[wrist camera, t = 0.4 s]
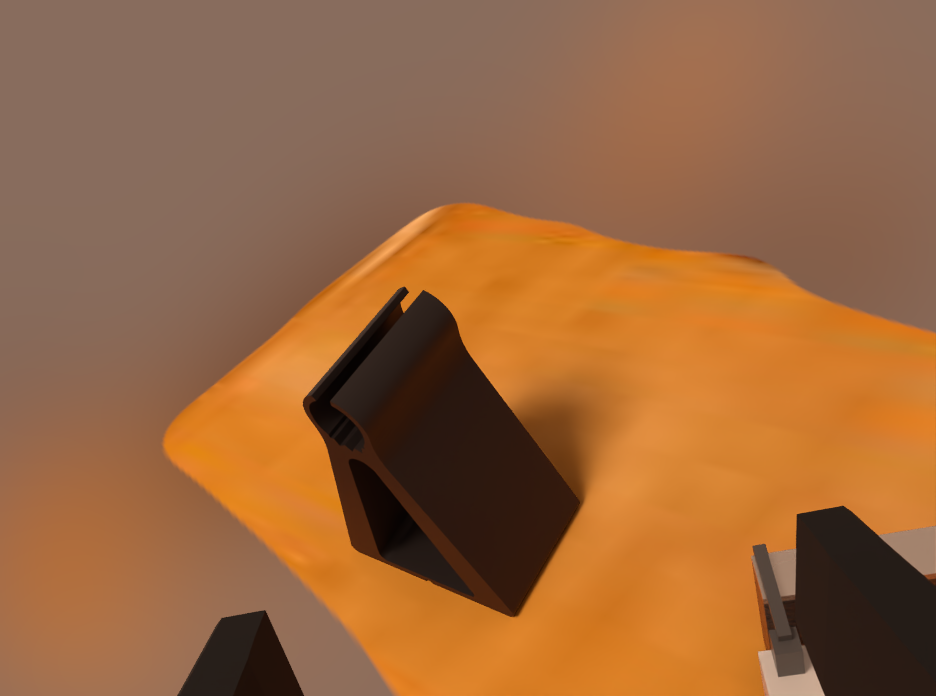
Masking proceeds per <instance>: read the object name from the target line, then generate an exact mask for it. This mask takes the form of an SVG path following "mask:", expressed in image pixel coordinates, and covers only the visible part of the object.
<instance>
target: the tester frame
mask: <svg viewBox="0 0 936 696" xmlns="http://www.w3.org/2000/svg"><path fill="white" fill-rule="evenodd" d="M878 536H879V537H880V538H881V539H883V540H884V541H885V542H886V543H887V544H888V545H889V546H890V547H892V548H893V549H894V550H895V551H896V552H897V553H898V554H900V555H901V556H902V557H903V558H904V559H905V560H906V561H908V562H909V563H910V564H911V565H912V566H913V567H915V568H916V569H917V570H918V571H919V572H920V573H922V574H923V575H924V576H925V577H926V578H927V579H928V580H930V581H931V582H932V583H933V584H934V585H936V526H932V527H926V528H920V529H914V530H908V531H901V532H895V533H889V534H883V535H878ZM768 555H769V558H770V562H771V565H772V569H773V572H774V575H775V579H776V582H777V586H778V589H779V592H780V596H781V599H782V603H783V606H784V609H785V613H786V616H787V620H788V623H789V626H790V627H796V629H797V632H798V636H799V639H800V642H801V646H802V645H805V644H804V642H803V639H802V636H801V634H800V631H799V628H798V626H797V623H796V621H795V581H796V549H791V550H784V551H778V552H772V553H768ZM751 558H752V565H753V572H754V578H755V585H756V592H757V598H758V605H759V612H760V618H761V625H762V632H763V638H764V643H765V647H766V651H767V650H771V645H770V638H769V631H768V630H775V627H774V623H773V620H772V616H771V613H770V609H769V605H768V602H767V598H766V595H765V591H764V588H763V584H762V580H761V577H760V573H759V570H758V566H757V563H756V559H755V555H754V556H751Z"/></svg>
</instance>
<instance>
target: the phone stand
mask: <svg viewBox="0 0 936 696" xmlns="http://www.w3.org/2000/svg"><path fill="white" fill-rule="evenodd" d="M408 293H409V292H408V290H407V289H406V288H405V287H402V288H400V289H398V290H397V292H396V293H395V294H394V295H393V296H392V297H391V298H390V300H389V301H388V302H387V303H386V304H385V305H384V307H383V308H382V309H381V310H380V311H379V312H378V314H377V315H376V316H375V317H374V318H373V319H372V321H371V322H370V323H369V324H368V325H367V326H366V327H365V329H364V330H363V331H362V332H361V333H360V334H359V336H358V337H357V338H356V339H355V340H354V341H353V343H352V344H351V345H350V346H349V347H348V348H347V350H346V351H345V352H344V353H343V354H342V355H341V356H340V358H339V359H338V360H337V361H336V362H335V363H334V365H333V366H332V367H331V368H330V369H329V370H328V372H327V373H326V374H325V375H324V376H323V377H322V378H321V380H320V381H319V382H318V383H317V384H316V385H315V387H314V388H313V389H312V390H311V391H310V392H309V394H308V395H307V396H306V397H305V398H304V400H303V407H304V410H305V412H306V414H307V416H308V417H309V419H310V420H311V421H312V423H313V424H314V425H315V427H316V428H317V430H318V431H319V433H320V434H321V436H322V438H323V439H324V441H325V444H326V446H327V449H328V453H329V457H330V461H331V465H332V469H333V473H334V477H335V481H336V485H337V489H338V493H339V497H340V501H341V505H342V509H343V513H344V517H345V521H346V525H347V529H348V533H349V537H350V541H351V545H352V546H353V548H355V549H356V550H357V551H358V552H360V553H363V554H365V555H367V556H370V557H372V558H374V559H377V560H379V561H381V562H384V563H386V564H388V565H391V566H393V567H395V568H398V569H400V570H402V571H405V572H407V573H409V574H412V575H414V576H416V577H419V578H421V579H423V580H426V581H427V580H430V581H431V582H432V583H433V584H435V585H437V586H440V587H442V588H444V589H447V590H449V591H451V592H454V593H456V594H458V595H461V596H463V597H465V598H468V599H470V600H472V601H475V602H477V603H479V604H482V605H484V606H486V607H489V608H491V609H493V610H496V611H498V612H501V613H503V614H505V615H508V616H510V617H513V616H514V614H515V613H516V611H517V609H518V607H519V606H520V604H521V602H522V601H523V599H524V597H525V595H526V594H527V592H528V590H529V589H530V587H531V585H532V583H533V582H534V580H535V578H536V577H537V575H538V573H539V571H540V570H541V568H542V566H543V565H544V563H545V561H546V560H547V558H548V556H549V554H550V553H551V551H552V549H553V548H554V546H555V544H556V542H557V541H558V539H559V537H560V536H561V534H562V532H563V530H564V529H565V527H566V525H567V524H568V522H569V520H570V518H571V517H572V515H573V513H574V512H575V510H576V508H577V507H578V505H579V503H580V502H579V500H578V498H577V497H576V496H575V494H574V493H573V492H572V490H571V489H570V488H569V486H568V485H567V484H566V482H565V481H564V480H563V478H562V477H561V476H560V474H559V473H558V472H557V470H556V469H555V468H554V466H553V465H552V464H551V462H550V461H549V460H548V458H547V457H546V456H545V454H544V453H543V452H542V450H541V449H540V448H539V446H538V445H537V444H536V442H535V441H534V440H533V439H532V437H531V436H530V435H529V433H528V432H527V431H526V429H525V428H524V427H523V425H522V424H521V423H520V421H519V420H518V419H517V417H516V416H515V415H514V413H513V412H512V411H511V409H510V408H509V407H508V405H507V404H506V403H505V401H504V400H503V399H502V397H501V396H500V395H499V393H498V392H497V391H496V389H495V388H494V387H493V385H492V384H491V383H490V381H489V380H488V379H487V377H486V376H485V375H484V373H483V372H482V371H481V369H480V368H479V367H478V365H477V364H476V363H475V361H474V360H473V359H472V357H471V356H470V355H469V353H468V351H467V350H466V348H465V346H464V344H463V342H462V340H461V337H460V334H459V330H458V326H457V323H456V321H455V319H454V317H453V315H452V314H451V312H450V311H449V310H448V308H447V307H446V306H445V305H444V304H443V303H442V302H441V301H439V300H438V299H437V298H436V297H434V296H433V295H431V294H430V293H428V292H426V291H424V290H423V291H422V292H421V293H420V295H419V296H418V297H417V298H416V299H415V301H414V302H413V303H412V304H411V305H410V307H409V308H408V309H407V310H406V311H405V313H403V311H402V308H401V303H400V302H401V301H402V300H403V299H404V297H405V296H406V295H407V294H408Z"/></svg>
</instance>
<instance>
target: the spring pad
mask: <svg viewBox="0 0 936 696" xmlns="http://www.w3.org/2000/svg"><path fill="white" fill-rule="evenodd" d="M753 552H754V555H755V559H756V563H757V566H758V570H759V573H760V577H761V580H762V584H763V588H764V591H765V595H766V598H767V602H768V605H769V609H770V613H771V616H772V620H773V623H774V627H775V630H768V631H769V638H770V645H771V650H767V651H760V652H758V656H759V663H760V669H761V675H762V681H763V687H764V693H765V696H825V695H824V693H823V690H822V688H821V685H820V683H819V680H818V678H817V675H816V673H815V670H814V668H813V665H812V663H811V660H810V658H809V655H808V652H807V650H806V647H805V645H802V646H801V642H800V639H799V636H798V632H797V629H796V627H790V626H789V623H788V620H787V616H786V613H785V609H784V606H783V603H782V599H781V596H780V592H779V589H778V586H777V582H776V579H775V575H774V572H773V569H772V565H771V562H770V558H769V555H768V552H767V548H766V545H765V544H761V545H755V546H753Z"/></svg>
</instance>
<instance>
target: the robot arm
mask: <svg viewBox="0 0 936 696" xmlns="http://www.w3.org/2000/svg"><path fill="white" fill-rule="evenodd" d="M795 621H796V623H797V626H798V628H799V631H800V634H801V636H802V639H803V642H804V644H805V647H806V650H807V652H808V655H809V658H810V660H811V663H812V665H813V668H814V670H815V673H816V675H817V678H818V680H819V683H820V685H821V688H822V690H823V693H824V695H825V696H936V585H934V584H933V583H932V582H931V581H930V580H928V579H927V578H926V577H925V576H924V575H923V574H922V573H920V572H919V571H918V570H917V569H916V568H915V567H913V566H912V565H911V564H910V563H909V562H908V561H906V560H905V559H904V558H903V557H902V556H901V555H900V554H898V553H897V552H896V551H895V550H894V549H893V548H892V547H890V546H889V545H888V544H887V543H886V542H885V541H884V540H883V539H881V538H880V537H879V536H878V535H877V534H876V533H875V532H874V531H873V530H871V529H870V528H869V527H868V526H867V525H866V524H865V523H864V522H863V521H861V520H860V519H859V518H858V517H857V516H856V515H855V514H854V513H853V512H851V511H850V510H849V509H847V508H846V507H844V506H840V507H834V508H829V509H823V510H817V511H812V512H806V513H801V514H797V530H796V581H795ZM177 696H304V695H303V692H302V690H301V688H300V686H299V683H298V681H297V679H296V677H295V675H294V672H293V670H292V668H291V666H290V664H289V661H288V659H287V657H286V655H285V653H284V650H283V648H282V646H281V644H280V642H279V640H278V637H277V635H276V633H275V631H274V629H273V626H272V624H271V622H270V620H269V617H268V615H267V613H266V611H265V610H264V611H258V612H253V613H247V614H242V615H236V616H231V617H225V618H222V619H221V620H220V621H219V623H218V624H217V625H216V627H215V629H214V631H213V633H212V634H211V636H210V638H209V640H208V642H207V643H206V645H205V647H204V649H203V651H202V652H201V654H200V656H199V658H198V660H197V661H196V663H195V665H194V667H193V669H192V671H191V672H190V674H189V676H188V678H187V679H186V681H185V683H184V685H183V687H182V688H181V690H180V692H179V694H178V695H177Z"/></svg>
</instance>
